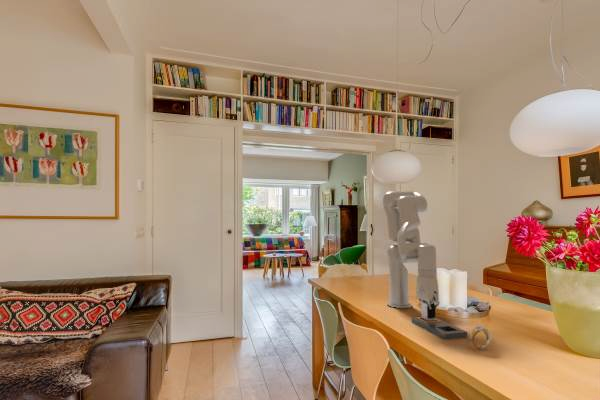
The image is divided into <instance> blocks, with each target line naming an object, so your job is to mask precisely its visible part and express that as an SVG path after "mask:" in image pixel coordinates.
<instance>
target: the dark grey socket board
mask: <svg viewBox="0 0 600 400" xmlns="http://www.w3.org/2000/svg"><path fill="white" fill-rule="evenodd" d="M411 323H412V324H414V325H416V326H418V327H420V328H422V329H424V330H425V329H426V331H428V332H430V333H431V334H433V335H435V336H437V337H439V338H440V339H443V340H446V341H447V340H453V339H465V338H468V331H466V330H464V329H462V328H460V327H457V326H455V325H453V324H450V323H449V322H446V321H443V320H442V319H440V318H437V317H436V321H430V322H426V321H424V320H422V316H415V317H413V316H412V317H411Z"/></svg>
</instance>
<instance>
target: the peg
mask: <svg viewBox="0 0 600 400" xmlns="http://www.w3.org/2000/svg"><path fill="white" fill-rule="evenodd" d="M431 305H432V303H431ZM420 307H421V309H420V311H421V317H422V320H424V321H426V322H430V321H436V318H437V317H436V318H431V319H429V318H428V309H429V305H428V302H420Z"/></svg>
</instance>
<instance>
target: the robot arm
mask: <svg viewBox="0 0 600 400" xmlns="http://www.w3.org/2000/svg"><path fill="white" fill-rule="evenodd" d="M382 205H383V209H384V212H385V215H386V219H387V232H388V239H389V240H390V241H391V242H393V243H396V244H392V245H390V246H389V247H388V248H387V250H386V254H387V261H388V270H389V272H388V273H389V295H388V296H387V297H388V298H389V300H388V301H387V302H386V305H387V306H388V305H389V306H388V307H390V306H391V308H394V307H396V308H395V309H409V308H412V307H413V303H412V302H410V291H409V271H408V269H407V267H406V266H405V265H404V264H407V263H410V264H413V263H417V277H416V287H415V291H416V292H415V296H416V297H417V298H418V300H419V303H421V302H428V305H429V309H428V318H429V319H431V318H437V317H436V309H437V306H439V305H440V304H441V303H440V300H439V299H440V293H439V283H438V278H437V276H438V274H437V273H438V272H437V247H436V246H435V245H433V244H429V243H427V242H421V235H420V231H419V228H418V227H419V226H420V225H421V220H420V215H419V213H425V212H426V211H427V209H428V202H427V199H426V198H425V196H424V195H422V194H420V193H418V192H416V191H408V190H407V191H406V190H395V191H394V190H393V191H387V192H386V193H384V195H383V196H382ZM431 303H432V305H431Z"/></svg>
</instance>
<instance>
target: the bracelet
mask: <svg viewBox="0 0 600 400" xmlns="http://www.w3.org/2000/svg"><path fill="white" fill-rule="evenodd" d="M481 331H482V332H483V334H485V336H486V341H485V343H484V344H483V345H477V344H475V337H476V335H477V334H478V333H480V332H481ZM469 339H470V342H471V344H472V346H473V347H474V348H477V349H479V350H483V349H486V348H487V347H488V346H489V344H490V342H491V334H490V331H489V330H488V329H486V327H485V326H483V325H478V324H477V325H475V326H474V327H473V328H472V329H471V331H470V334H469Z"/></svg>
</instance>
